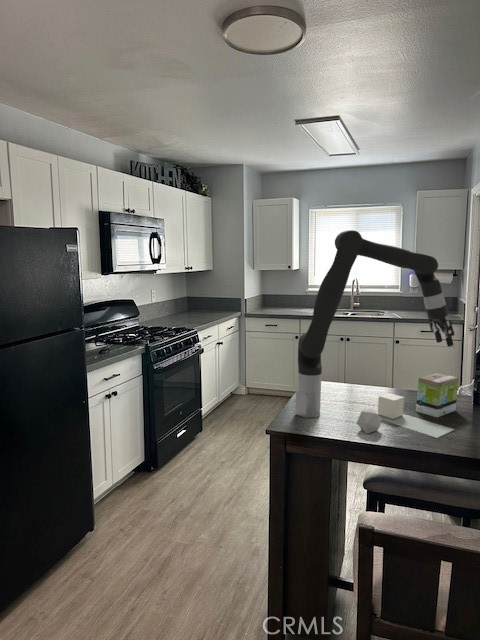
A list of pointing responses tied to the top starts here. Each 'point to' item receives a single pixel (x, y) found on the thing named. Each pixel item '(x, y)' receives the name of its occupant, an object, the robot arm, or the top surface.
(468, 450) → the top surface
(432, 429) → the mat
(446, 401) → the tea box
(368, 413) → the die
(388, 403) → the cream block
